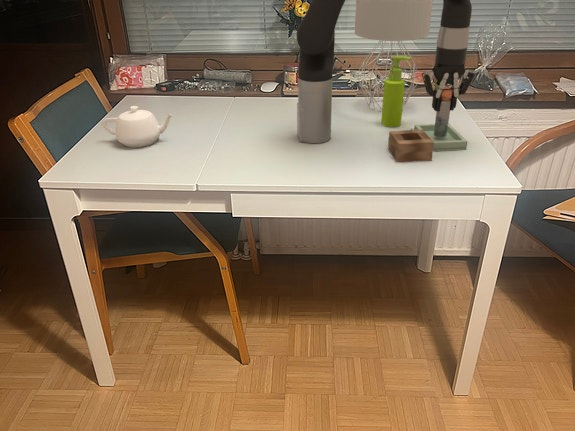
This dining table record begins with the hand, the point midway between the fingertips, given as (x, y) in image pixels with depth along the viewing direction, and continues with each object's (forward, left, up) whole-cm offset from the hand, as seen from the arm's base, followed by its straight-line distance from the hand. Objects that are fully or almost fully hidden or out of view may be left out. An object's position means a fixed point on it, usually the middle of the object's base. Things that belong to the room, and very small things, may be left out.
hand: (443, 109), depth 144 cm
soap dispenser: (-9, +15, -9) cm, 20 cm away
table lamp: (-7, +31, -9) cm, 33 cm away
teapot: (-83, +11, -9) cm, 84 cm away
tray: (0, 0, -9) cm, 9 cm away
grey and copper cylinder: (0, 0, -7) cm, 7 cm away
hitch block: (-11, -8, -9) cm, 16 cm away
